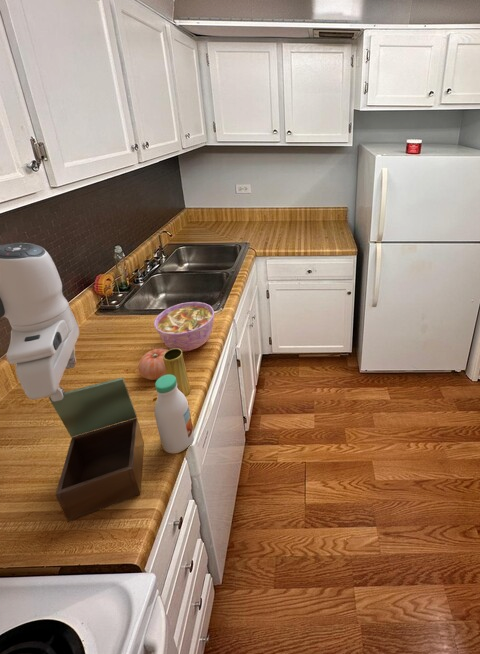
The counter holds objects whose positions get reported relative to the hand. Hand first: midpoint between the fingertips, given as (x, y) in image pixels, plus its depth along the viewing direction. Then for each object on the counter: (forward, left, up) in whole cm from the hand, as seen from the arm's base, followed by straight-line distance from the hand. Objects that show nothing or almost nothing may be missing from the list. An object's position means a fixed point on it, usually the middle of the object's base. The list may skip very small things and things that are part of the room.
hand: (65, 381), depth 68 cm
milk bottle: (+18, +1, -28) cm, 33 cm away
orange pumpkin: (+13, +29, -28) cm, 42 cm away
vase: (+19, +18, -28) cm, 38 cm away
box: (+3, -3, -27) cm, 28 cm away
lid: (+3, +2, -11) cm, 11 cm away
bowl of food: (+23, +41, -28) cm, 54 cm away
